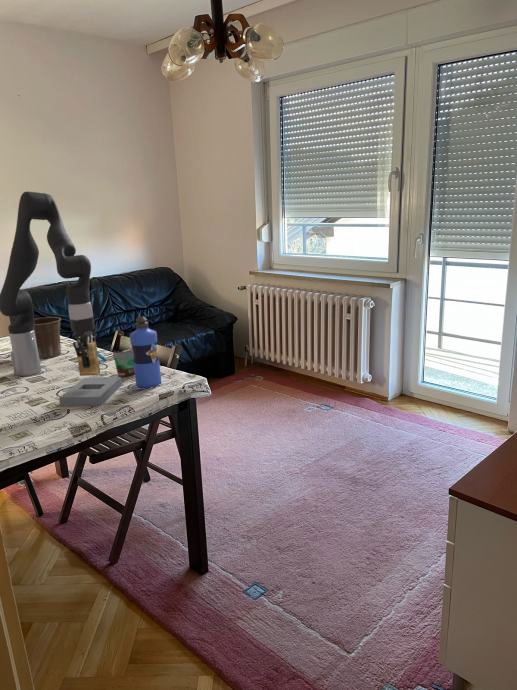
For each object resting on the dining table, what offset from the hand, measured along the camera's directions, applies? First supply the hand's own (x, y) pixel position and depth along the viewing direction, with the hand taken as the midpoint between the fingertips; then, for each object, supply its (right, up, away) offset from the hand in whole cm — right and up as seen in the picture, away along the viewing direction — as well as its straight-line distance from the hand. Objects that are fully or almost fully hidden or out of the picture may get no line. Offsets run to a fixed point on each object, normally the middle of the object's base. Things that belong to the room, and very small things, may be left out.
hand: (88, 365), depth 179 cm
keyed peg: (0, -3, +1) cm, 3 cm away
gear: (-10, 0, +43) cm, 44 cm away
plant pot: (-37, +2, +57) cm, 68 cm away
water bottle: (+18, -7, +11) cm, 22 cm away
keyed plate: (+1, -10, +3) cm, 11 cm away
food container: (+10, -5, +23) cm, 25 cm away
